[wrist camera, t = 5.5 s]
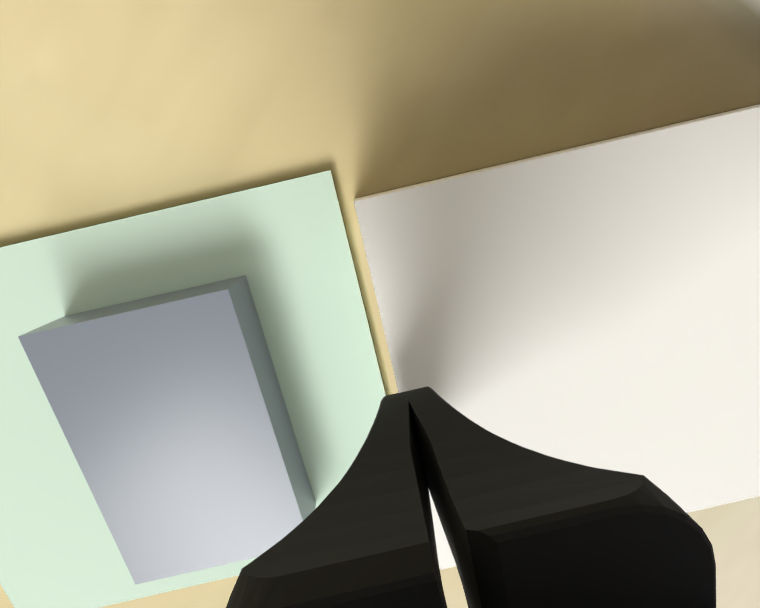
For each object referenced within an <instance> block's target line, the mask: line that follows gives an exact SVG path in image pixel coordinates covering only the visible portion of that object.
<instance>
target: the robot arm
mask: <svg viewBox="0 0 760 608" xmlns="http://www.w3.org/2000/svg"><path fill="white" fill-rule="evenodd" d="M429 491H430V494H431V497H432V500H433V502H434V505H435V508H436V511H437V513H438V516H439V519H440V522H441V524H442V527H443V530H444V533H445V535H446V538H447V541H448V544H449V546H450V549H451V552H452V555H453V557H454V560H455V563H456V566H457V569H458V572H459V575H460V578H461V581H462V585H463V589H464V592H465V596H466V600H467V604H468V607H469V608H716V564H715V558H714V553H713V548H712V544H711V542H710V541H709V539H708V537H707V536H706V534H705V532H704V531H703V529H702V528H701V527H700V526H699V525H698V524H697V523H696V522H695V521H694V520H693V519H692V518H691V517H690V516H689V515H688V514H687V513H686V512H685V511H684V510H683V509H682V508H681V507H680V506H679V505H678V504H677V503H676V502H674V501H673V500H672V499H671V498H670V497H669V496H668V495H667V494H666V493H664V492H663V491H662V490H661V489H660V488H658V487H657V486H656V485H655V484H654V483H652V482H651V481H650V480H649V479H648V478H646V477H645V476H644V475H639V474H632V473H626V472H620V471H613V470H607V469H600V468H594V467H590V466H585V465H581V464H577V463H573V462H569V461H564V460H561V459H558V458H554V457H551V456H547V455H544V454H541V453H539V452H536V451H533V450H530V449H527V448H524V447H522V446H519V445H517V444H515V443H512V442H510V441H508V440H506V439H504V438H502V437H499V436H497V435H495V434H493V433H491V432H489V431H488V430H486V429H484V428H483V427H481V426H479V425H478V424H476V423H474V422H473V421H471V420H470V419H469V418H467V417H466V416H464V415H463V414H462V413H460V412H459V411H457V410H456V409H455V408H454V407H452V406H451V405H450V404H449V403H447V402H446V401H445V400H444V399H443V398H441V397H440V396H439V395H438V394H437V393H436V392H435V391H434V390H433V389H431V388H430V387H428V386H427V387H423V388H418V389H414V390H410V391H405V392H401V393H397V394H392V395H388V396H384V397H383V399H382V400H381V402H380V406H379V409H378V412H377V415H376V418H375V420H374V423H373V425H372V427H371V429H370V431H369V434H368V436H367V438H366V440H365V442H364V444H363V446H362V447H361V449H360V451H359V453H358V455H357V456H356V458H355V460H354V461H353V463H352V465H351V466H350V468H349V469H348V471H347V472H346V474H345V475H344V476H343V478H342V479H341V481H340V482H339V483H338V484H337V486H336V487H335V488H334V489H333V490H332V491H331V492H330V493H329V494H328V496H327V497H326V498H325V499H324V500H323V501H322V502H321V503H320V505H319V506H318V507H317V508H316V509H315V510H314V511H313V512H312V513H311V514H310V515H309V516H308V517H306V518H305V519H304V520H303V521H302V522H301V523H300V524H299V525H298V526H297V527H295V528H294V529H293V530H292V531H291V532H290V533H289V534H287V535H286V536H285V537H284V538H283V539H281V540H280V541H279V542H277V543H276V544H275V545H273V546H272V547H271V548H269V549H268V550H267V551H265V552H264V553H263V554H261V555H260V556H259V557H257V558H256V559H255V560H253V561H252V562H251V563H249V564H248V565H246V566H245V567H243V568H242V569H241V571H240V574H239V577H238V579H237V582H236V584H235V586H234V589H233V591H232V593H231V596H230V598H229V601H228V604H227V607H226V608H447V605H446V600H445V596H444V591H443V587H442V581H441V575H440V570H439V562H438V555H437V547H436V540H435V532H434V525H433V517H432V510H431V503H430V495H429Z"/></svg>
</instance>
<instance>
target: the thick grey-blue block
mask: <svg viewBox="0 0 760 608" xmlns="http://www.w3.org/2000/svg"><path fill="white" fill-rule="evenodd" d="M18 338H19V340H20V342H21V344H22V346H23V349H24V351H25V353H26V355H27V357H28V359H29V361H30V363H31V365H32V368H33V370H34V372H35V374H36V376H37V378H38V380H39V382H40V384H41V387H42V389H43V391H44V393H45V395H46V397H47V399H48V401H49V403H50V405H51V408H52V410H53V412H54V414H55V416H56V418H57V420H58V422H59V424H60V427H61V429H62V431H63V433H64V435H65V437H66V439H67V441H68V443H69V446H70V448H71V450H72V452H73V454H74V456H75V458H76V460H77V462H78V465H79V467H80V469H81V471H82V473H83V475H84V477H85V479H86V481H87V483H88V486H89V488H90V490H91V492H92V494H93V496H94V498H95V500H96V502H97V505H98V507H99V509H100V511H101V513H102V515H103V517H104V519H105V521H106V524H107V526H108V528H109V530H110V532H111V534H112V536H113V538H114V540H115V543H116V545H117V547H118V549H119V551H120V553H121V555H122V557H123V559H124V561H125V564H126V566H127V568H128V570H129V572H130V574H131V576H132V578H133V580H134V583H135V585H136V584H141V583H145V582H149V581H154V580H158V579H163V578H167V577H172V576H176V575H181V574H185V573H189V572H194V571H198V570H203V569H207V568H212V567H216V566H221V565H225V564H229V563H234V562H238V561H243V560H247V559H252V558H256V557H259V556H260V555H261V554H263V553H264V552H265V551H267V550H268V549H269V548H271V547H272V546H273V545H275V544H276V543H277V542H279V541H280V540H281V539H283V538H284V537H285V536H286V535H287V534H289V533H290V532H291V531H292V530H293V529H294V528H295V527H297V526H298V525H299V524H300V523H301V522H302V521H303V520H304V519H305V518H306V517H308V516H309V515H310V514H311V513H312V512H313V511H314V510H315V506H316V502H315V498H314V495H313V492H312V489H311V485H310V482H309V479H308V476H307V472H306V469H305V466H304V463H303V459H302V456H301V453H300V450H299V446H298V443H297V440H296V437H295V433H294V430H293V427H292V424H291V421H290V417H289V414H288V411H287V408H286V404H285V401H284V398H283V395H282V391H281V388H280V385H279V382H278V378H277V375H276V372H275V369H274V365H273V362H272V359H271V356H270V352H269V349H268V346H267V343H266V340H265V336H264V333H263V330H262V327H261V323H260V320H259V317H258V314H257V310H256V307H255V304H254V301H253V297H252V294H251V291H250V288H249V284H248V281H247V278H246V275H244V276H240V277H235V278H231V279H226V280H222V281H218V282H213V283H209V284H204V285H200V286H195V287H191V288H187V289H182V290H178V291H173V292H169V293H164V294H160V295H156V296H151V297H147V298H142V299H138V300H133V301H129V302H125V303H120V304H116V305H111V306H107V307H102V308H98V309H94V310H89V311H85V312H80V313H76V314H71V315H67V316H64V317H61V318H59V319H57V320H54V321H52V322H50V323H48V324H45V325H43V326H41V327H39V328H36V329H34V330H32V331H29V332H27V333H25V334H23V335H20V336H18Z"/></svg>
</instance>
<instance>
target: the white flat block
mask: <svg viewBox="0 0 760 608" xmlns="http://www.w3.org/2000/svg"><path fill="white" fill-rule="evenodd" d="M354 205H355V209H356V213H357V218H358V222H359V226H360V230H361V235H362V239H363V243H364V247H365V252H366V256H367V260H368V264H369V269H370V273H371V277H372V281H373V286H374V290H375V294H376V298H377V303H378V307H379V311H380V315H381V320H382V324H383V328H384V332H385V337H386V341H387V345H388V349H389V354H390V358H391V362H392V366H393V371H394V375H395V379H396V384H397V388H398V392H399V393H401V392H405V391H410V390H414V389H418V388H423V387H427V386H428V387H430V388H431V389H433V390H434V391H435V392H436V393H437V394H438V395H439V396H440V397H441V398H443V399H444V400H445V401H446V402H447V403H449V404H450V405H451V406H452V407H454V408H455V409H456V410H457V411H459V412H460V413H462V414H463V415H464V416H466V417H467V418H469V419H470V420H471V421H473V422H474V423H476V424H478V425H479V426H481V427H483V428H484V429H486V430H488V431H489V432H491V433H493V434H495V435H497V436H499V437H502V438H504V439H506V440H508V441H510V442H512V443H515V444H517V445H519V446H522V447H524V448H527V449H530V450H533V451H536V452H539V453H541V454H544V455H547V456H551V457H554V458H558V459H561V460H564V461H569V462H573V463H577V464H581V465H585V466H590V467H594V468H600V469H607V470H613V471H620V472H626V473H632V474H639V475H644V476H645V477H646V478H648V479H649V480H650V481H651V482H652V483H654V484H655V485H656V486H657V487H658V488H660V489H661V490H662V491H663V492H664V493H666V494H667V495H668V496H669V497H670V498H671V499H672V500H673V501H674V502H676V503H677V504H678V505H679V506H680V507H681V508H682V509H683V510H684V511H685V512H686V513H688V512H693V511H697V510H701V509H706V508H710V507H714V506H719V505H723V504H727V503H732V502H736V501H740V500H745V499H749V498H753V497H758V496H760V104H758V105H754V106H750V107H745V108H741V109H737V110H733V111H728V112H724V113H720V114H715V115H711V116H707V117H703V118H698V119H694V120H690V121H685V122H681V123H677V124H673V125H668V126H664V127H660V128H655V129H651V130H647V131H643V132H638V133H634V134H630V135H626V136H621V137H617V138H613V139H608V140H604V141H600V142H596V143H591V144H587V145H583V146H578V147H574V148H570V149H566V150H561V151H557V152H553V153H548V154H544V155H540V156H536V157H531V158H527V159H523V160H519V161H514V162H510V163H506V164H501V165H497V166H493V167H489V168H484V169H480V170H476V171H471V172H467V173H463V174H459V175H454V176H450V177H446V178H441V179H437V180H433V181H429V182H424V183H420V184H416V185H411V186H407V187H403V188H399V189H394V190H390V191H386V192H382V193H377V194H373V195H369V196H364V197H360V198H356V199H354ZM429 495H430V503H431V510H432V517H433V525H434V532H435V540H436V547H437V555H438V562H439V566H440V570H441V569H446V568H450V567H454V566H456V563H455V560H454V557H453V555H452V552H451V549H450V546H449V544H448V541H447V538H446V535H445V533H444V530H443V527H442V524H441V522H440V519H439V516H438V513H437V511H436V508H435V505H434V502H433V500H432V497H431V494H430V491H429Z"/></svg>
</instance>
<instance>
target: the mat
mask: <svg viewBox="0 0 760 608" xmlns="http://www.w3.org/2000/svg"><path fill="white" fill-rule="evenodd" d="M244 275H246V278H247V281H248V284H249V288H250V291H251V294H252V297H253V301H254V304H255V307H256V310H257V314H258V317H259V320H260V323H261V327H262V330H263V333H264V336H265V340H266V343H267V346H268V349H269V352H270V356H271V359H272V362H273V365H274V369H275V372H276V375H277V378H278V382H279V385H280V388H281V391H282V395H283V398H284V401H285V404H286V408H287V411H288V414H289V417H290V421H291V424H292V427H293V430H294V433H295V437H296V440H297V443H298V446H299V450H300V453H301V456H302V459H303V463H304V466H305V469H306V472H307V476H308V479H309V482H310V485H311V489H312V492H313V495H314V498H315V502H316V506H315V509H316V508H317V507H318V506H319V505H320V503H321V502H322V501H323V500H324V499H325V498H326V497H327V496H328V494H329V493H330V492H331V491H332V490H333V489H334V488H335V487H336V486H337V484H338V483H339V482H340V481H341V479H342V478H343V476H344V475H345V474H346V472H347V471H348V469H349V468H350V466H351V465H352V463H353V461H354V460H355V458H356V456H357V455H358V453H359V451H360V449H361V447H362V446H363V444H364V442H365V440H366V438H367V436H368V434H369V431H370V429H371V427H372V425H373V423H374V420H375V418H376V415H377V412H378V409H379V406H380V402H381V400H382V399H383V397H384V396H386V394H385V390H384V386H383V382H382V378H381V373H380V369H379V365H378V361H377V357H376V353H375V349H374V345H373V341H372V337H371V333H370V328H369V324H368V320H367V316H366V312H365V308H364V304H363V300H362V296H361V292H360V288H359V284H358V279H357V275H356V271H355V267H354V263H353V259H352V255H351V251H350V247H349V243H348V239H347V234H346V230H345V226H344V222H343V218H342V214H341V210H340V206H339V202H338V198H337V194H336V189H335V185H334V181H333V177H332V173H331V170H329V171H325V172H320V173H316V174H312V175H308V176H303V177H299V178H295V179H291V180H286V181H282V182H278V183H273V184H269V185H265V186H261V187H256V188H252V189H248V190H244V191H239V192H235V193H231V194H226V195H222V196H218V197H214V198H209V199H205V200H201V201H196V202H192V203H188V204H184V205H179V206H175V207H171V208H167V209H162V210H158V211H154V212H149V213H145V214H141V215H137V216H132V217H128V218H124V219H120V220H115V221H111V222H107V223H102V224H98V225H94V226H90V227H85V228H81V229H77V230H72V231H68V232H64V233H60V234H55V235H51V236H47V237H43V238H38V239H34V240H30V241H25V242H21V243H17V244H13V245H8V246H4V247H0V584H1V586H2V588H3V589H4V591H5V593H6V595H7V596H8V598H9V600H10V601H11V603H12V605H13V606H14V608H99V607H104V606H108V605H112V604H117V603H121V602H125V601H130V600H134V599H138V598H143V597H147V596H151V595H156V594H160V593H164V592H169V591H173V590H177V589H182V588H186V587H190V586H195V585H199V584H203V583H207V582H212V581H216V580H220V579H225V578H229V577H233V576H238V575H239V574H240V571H241V569H242V568H243V567H245V566H246V565H248V564H249V563H251V562H252V561H253V560H255V559H256V558H257V557H256V558H252V559H247V560H243V561H238V562H234V563H229V564H225V565H221V566H216V567H212V568H207V569H203V570H198V571H194V572H189V573H185V574H181V575H176V576H172V577H167V578H163V579H158V580H154V581H149V582H145V583H141V584H136V585H135V583H134V580H133V578H132V576H131V574H130V572H129V570H128V568H127V566H126V564H125V561H124V559H123V557H122V555H121V553H120V551H119V549H118V547H117V545H116V543H115V540H114V538H113V536H112V534H111V532H110V530H109V528H108V526H107V524H106V521H105V519H104V517H103V515H102V513H101V511H100V509H99V507H98V505H97V502H96V500H95V498H94V496H93V494H92V492H91V490H90V488H89V486H88V483H87V481H86V479H85V477H84V475H83V473H82V471H81V469H80V467H79V465H78V462H77V460H76V458H75V456H74V454H73V452H72V450H71V448H70V446H69V443H68V441H67V439H66V437H65V435H64V433H63V431H62V429H61V427H60V424H59V422H58V420H57V418H56V416H55V414H54V412H53V410H52V408H51V405H50V403H49V401H48V399H47V397H46V395H45V393H44V391H43V389H42V387H41V384H40V382H39V380H38V378H37V376H36V374H35V372H34V370H33V368H32V365H31V363H30V361H29V359H28V357H27V355H26V353H25V351H24V349H23V346H22V344H21V342H20V340H19V338H18V336H20V335H23V334H25V333H27V332H29V331H32V330H34V329H36V328H39V327H41V326H43V325H45V324H48V323H50V322H52V321H54V320H57V319H59V318H61V317H64V316H67V315H71V314H76V313H80V312H85V311H89V310H94V309H98V308H102V307H107V306H111V305H116V304H120V303H125V302H129V301H133V300H138V299H142V298H147V297H151V296H156V295H160V294H164V293H169V292H173V291H178V290H182V289H187V288H191V287H195V286H200V285H204V284H209V283H213V282H218V281H222V280H226V279H231V278H235V277H240V276H244Z"/></svg>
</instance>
